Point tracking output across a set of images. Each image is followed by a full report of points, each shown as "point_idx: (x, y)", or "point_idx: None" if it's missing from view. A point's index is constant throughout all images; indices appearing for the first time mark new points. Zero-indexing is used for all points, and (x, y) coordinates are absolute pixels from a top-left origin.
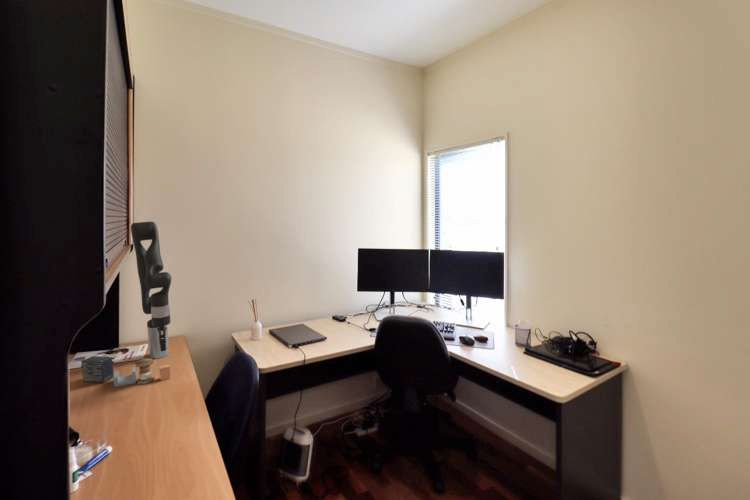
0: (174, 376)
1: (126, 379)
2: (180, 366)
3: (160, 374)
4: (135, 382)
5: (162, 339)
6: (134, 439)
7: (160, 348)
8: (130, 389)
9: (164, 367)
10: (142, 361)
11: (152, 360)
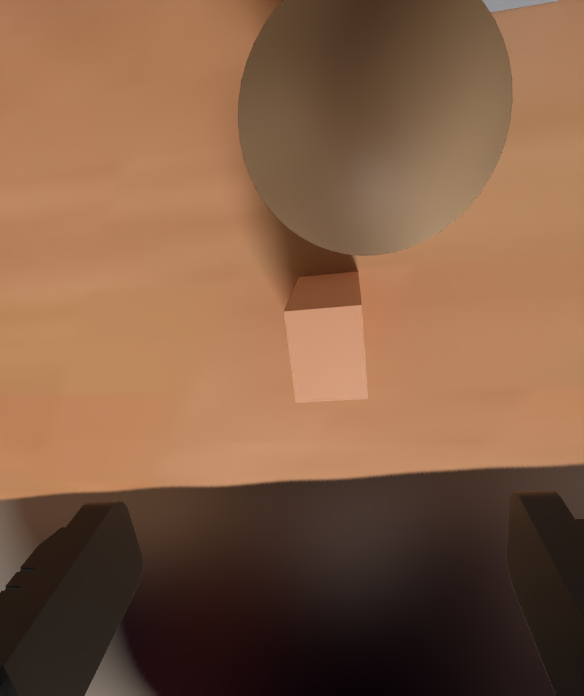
0: None
1: None
2: (538, 419)
3: (292, 294)
4: None
5: (568, 665)
6: None
7: (50, 545)
8: (211, 10)
9: (296, 357)
10: (394, 85)
11: (358, 249)
